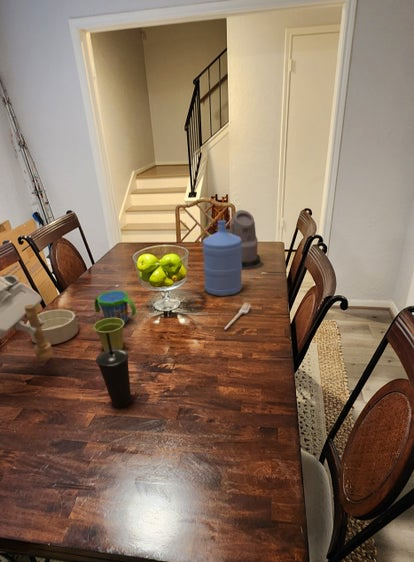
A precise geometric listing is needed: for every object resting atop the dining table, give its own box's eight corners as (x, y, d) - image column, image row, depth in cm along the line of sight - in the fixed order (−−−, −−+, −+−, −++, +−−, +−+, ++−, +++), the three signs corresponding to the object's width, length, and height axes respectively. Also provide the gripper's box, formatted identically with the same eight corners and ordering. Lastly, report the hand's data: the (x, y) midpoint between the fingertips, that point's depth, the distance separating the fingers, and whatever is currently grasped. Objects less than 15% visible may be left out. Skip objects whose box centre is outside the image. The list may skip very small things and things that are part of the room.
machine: (266, 266, 180) (268, 213, 167) (236, 271, 176) (235, 217, 163) (241, 250, 204) (242, 203, 191) (214, 254, 200) (212, 206, 187)
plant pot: (134, 343, 121) (129, 319, 117) (117, 358, 114) (112, 333, 109) (110, 339, 124) (105, 316, 120) (92, 353, 117) (86, 329, 112)
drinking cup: (110, 392, 99) (95, 326, 89) (139, 392, 99) (127, 325, 88) (102, 411, 93) (85, 342, 82) (133, 411, 92) (119, 341, 82)
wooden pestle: (35, 360, 102) (18, 311, 94) (38, 351, 106) (22, 303, 98) (51, 358, 102) (36, 309, 94) (54, 350, 106) (40, 302, 98)
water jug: (237, 297, 149) (237, 226, 134) (200, 295, 153) (196, 225, 138) (244, 283, 161) (245, 216, 147) (210, 281, 165) (207, 216, 151)
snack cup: (91, 324, 134) (85, 299, 129) (109, 313, 142) (104, 288, 137) (126, 332, 128) (121, 305, 123) (143, 319, 136) (139, 293, 131)
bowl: (26, 348, 121) (20, 332, 118) (38, 326, 135) (33, 311, 132) (74, 343, 123) (70, 327, 120) (81, 322, 136) (78, 307, 133)
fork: (220, 329, 127) (220, 324, 126) (243, 306, 141) (243, 302, 140) (229, 331, 125) (229, 326, 124) (251, 308, 140) (251, 303, 139)
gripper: (-29, 304, 85) (24, 341, 89) (17, 273, 102) (60, 305, 107) (-39, 321, 88) (13, 356, 92) (7, 288, 105) (49, 319, 109)
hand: (38, 328), depth 99 cm, fingers closed on wooden pestle, 2 cm apart
